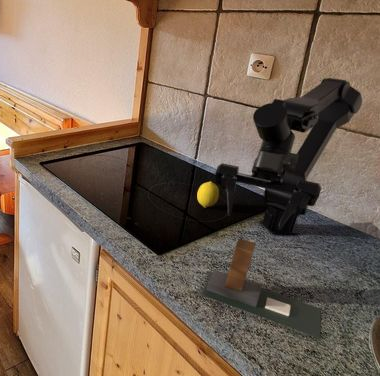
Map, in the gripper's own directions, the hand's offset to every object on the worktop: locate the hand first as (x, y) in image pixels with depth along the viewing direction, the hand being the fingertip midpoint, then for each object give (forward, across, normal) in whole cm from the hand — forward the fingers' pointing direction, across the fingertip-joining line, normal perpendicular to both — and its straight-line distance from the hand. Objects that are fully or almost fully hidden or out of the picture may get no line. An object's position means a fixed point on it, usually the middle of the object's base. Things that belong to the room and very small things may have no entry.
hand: (253, 221), depth 81 cm
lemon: (-11, -13, +29) cm, 34 cm away
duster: (+14, 0, +4) cm, 14 cm away
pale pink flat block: (+14, +8, +4) cm, 17 cm away
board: (+14, +5, +4) cm, 16 cm away
